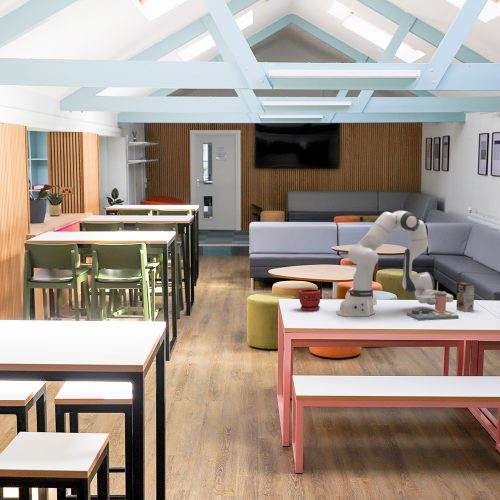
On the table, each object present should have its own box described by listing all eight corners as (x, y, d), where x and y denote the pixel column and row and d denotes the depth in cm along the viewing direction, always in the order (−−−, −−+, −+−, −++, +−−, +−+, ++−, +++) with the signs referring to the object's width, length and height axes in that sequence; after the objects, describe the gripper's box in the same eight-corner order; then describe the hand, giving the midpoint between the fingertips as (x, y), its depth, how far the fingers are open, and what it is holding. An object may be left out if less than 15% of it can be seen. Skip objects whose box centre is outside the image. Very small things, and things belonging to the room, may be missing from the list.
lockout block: (438, 311, 443) (438, 294, 442) (434, 309, 448) (434, 292, 447) (446, 311, 444) (446, 293, 443) (442, 309, 449) (442, 292, 447)
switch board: (418, 320, 432) (418, 314, 431) (406, 314, 448) (406, 309, 448) (458, 318, 436) (458, 312, 436) (445, 312, 453) (445, 307, 453)
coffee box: (455, 309, 464) (456, 282, 463) (465, 308, 466) (465, 281, 465) (464, 311, 456) (465, 284, 454) (474, 311, 458) (474, 284, 456)
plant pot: (320, 307, 473) (320, 288, 471) (320, 312, 460) (320, 292, 458) (299, 307, 474) (299, 288, 473) (298, 311, 461) (298, 291, 460)
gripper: (414, 292, 455) (424, 296, 442) (447, 291, 459) (457, 295, 446) (414, 303, 456) (423, 307, 443) (446, 301, 460) (457, 305, 446)
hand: (441, 301), depth 444 cm, fingers closed on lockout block, 4 cm apart
